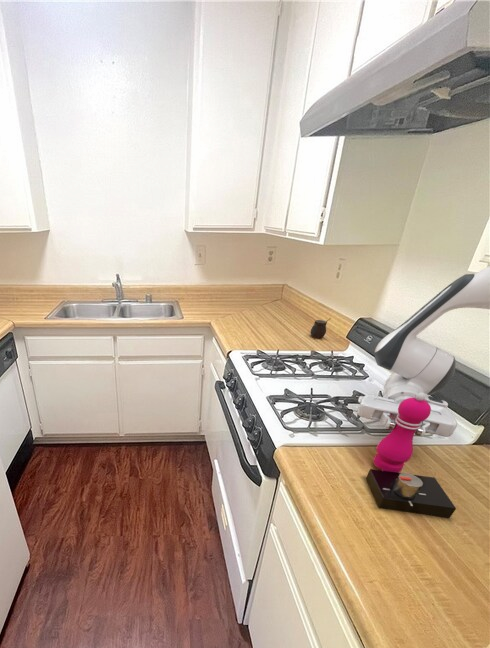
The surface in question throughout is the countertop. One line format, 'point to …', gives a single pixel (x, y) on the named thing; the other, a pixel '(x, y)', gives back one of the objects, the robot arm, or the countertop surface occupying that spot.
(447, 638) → the countertop surface
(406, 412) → the pepper mill
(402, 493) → the hob knob
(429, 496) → the black knob panel
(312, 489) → the countertop surface
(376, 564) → the countertop surface
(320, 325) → the mate gourd
